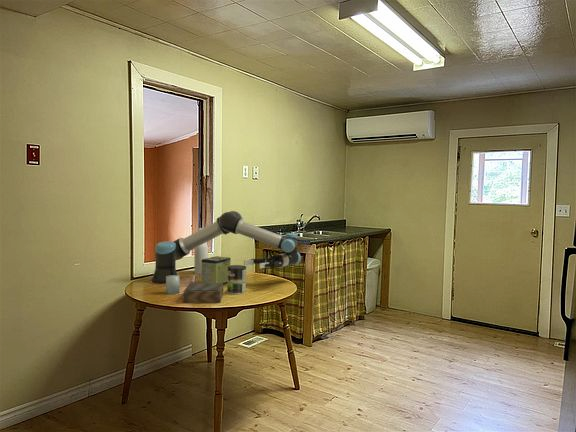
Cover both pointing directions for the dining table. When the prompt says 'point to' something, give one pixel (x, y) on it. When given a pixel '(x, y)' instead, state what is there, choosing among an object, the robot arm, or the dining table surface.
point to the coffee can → (236, 279)
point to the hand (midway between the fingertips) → (251, 264)
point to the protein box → (215, 270)
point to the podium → (203, 293)
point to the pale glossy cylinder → (172, 284)
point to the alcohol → (200, 256)
